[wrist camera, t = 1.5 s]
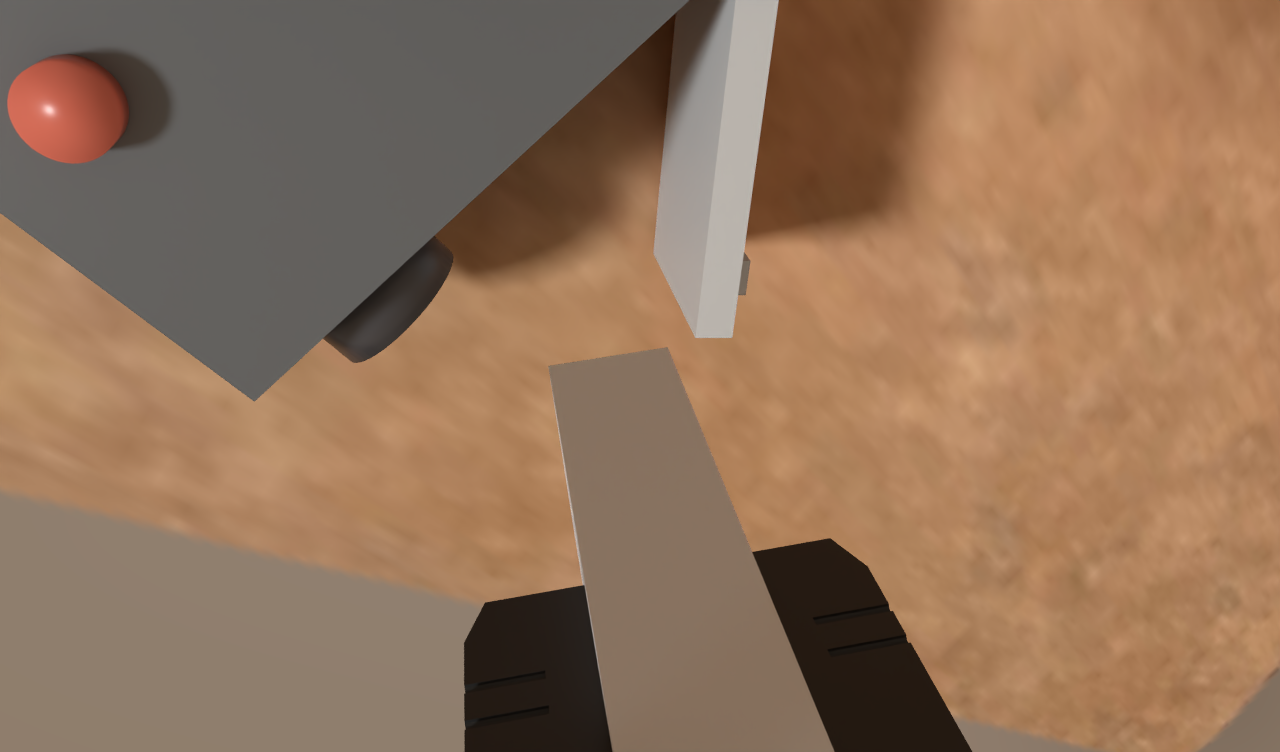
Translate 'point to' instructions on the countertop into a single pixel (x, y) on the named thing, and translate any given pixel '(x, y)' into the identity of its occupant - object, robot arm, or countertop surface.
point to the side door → (712, 155)
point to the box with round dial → (281, 151)
